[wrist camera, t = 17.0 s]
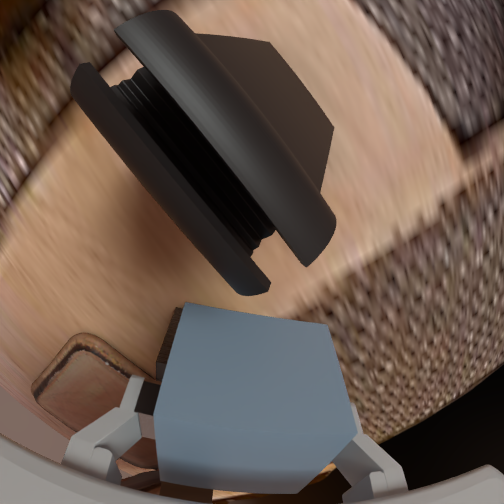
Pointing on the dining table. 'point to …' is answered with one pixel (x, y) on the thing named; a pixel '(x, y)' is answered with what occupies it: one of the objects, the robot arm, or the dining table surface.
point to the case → (95, 397)
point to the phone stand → (218, 141)
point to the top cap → (250, 403)
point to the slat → (186, 492)
